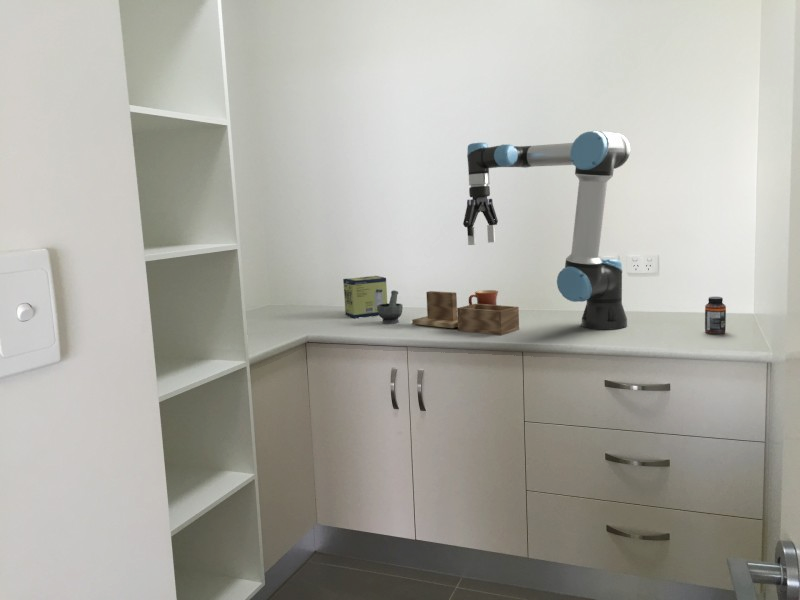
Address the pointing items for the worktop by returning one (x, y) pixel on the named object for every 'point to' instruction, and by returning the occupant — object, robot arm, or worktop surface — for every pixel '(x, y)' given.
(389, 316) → the mortar and pestle
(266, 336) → the worktop surface
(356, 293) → the protein box
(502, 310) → the box
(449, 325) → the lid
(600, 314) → the robot arm
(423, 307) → the worktop surface
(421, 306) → the worktop surface
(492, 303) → the mug
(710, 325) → the supplement bottle
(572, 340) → the worktop surface
